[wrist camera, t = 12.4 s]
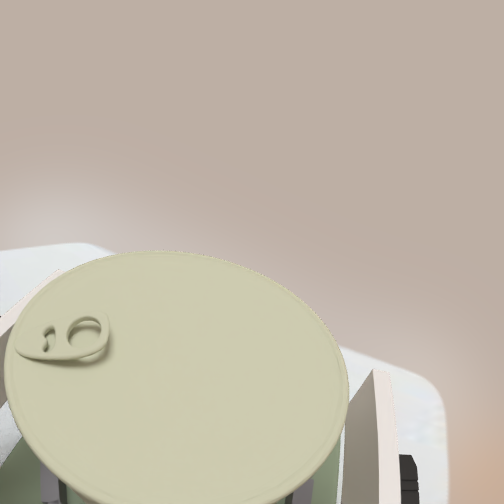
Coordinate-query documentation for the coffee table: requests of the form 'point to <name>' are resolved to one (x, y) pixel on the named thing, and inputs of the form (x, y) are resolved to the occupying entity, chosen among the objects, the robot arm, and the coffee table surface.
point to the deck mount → (65, 500)
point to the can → (175, 382)
